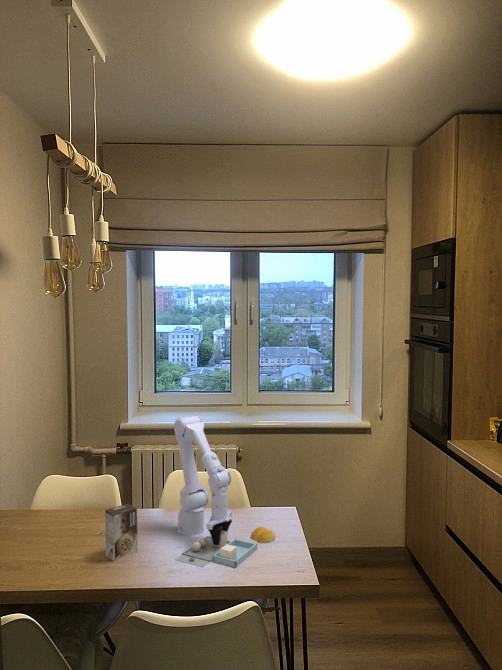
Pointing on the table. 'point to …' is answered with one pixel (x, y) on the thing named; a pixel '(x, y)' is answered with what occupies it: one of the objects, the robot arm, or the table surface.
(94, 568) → the table surface
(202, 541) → the pebble
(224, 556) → the stone block near
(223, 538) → the stone block far
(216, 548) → the slate tray
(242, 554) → the blue bin
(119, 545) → the coffee box
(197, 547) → the pebble
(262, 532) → the bread roll
